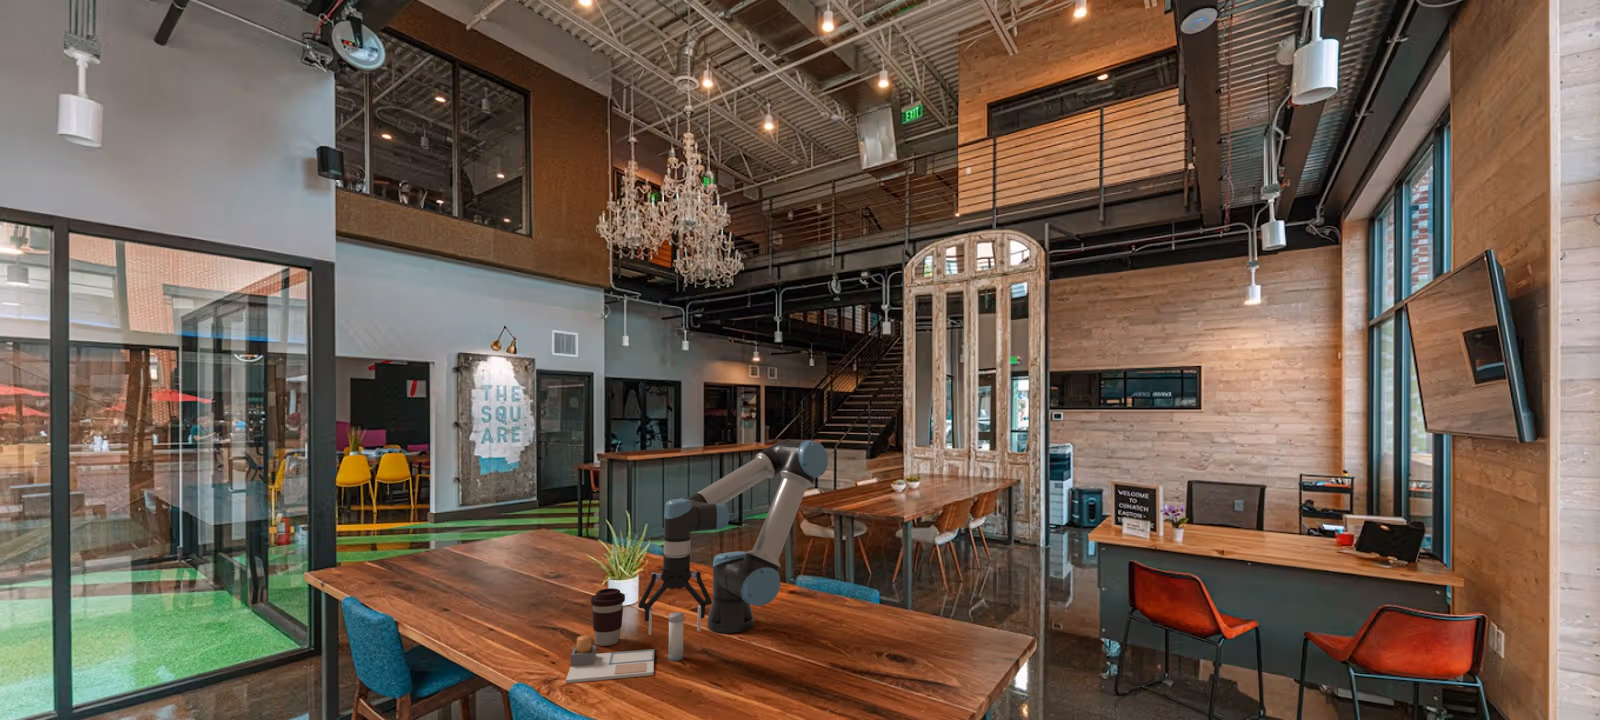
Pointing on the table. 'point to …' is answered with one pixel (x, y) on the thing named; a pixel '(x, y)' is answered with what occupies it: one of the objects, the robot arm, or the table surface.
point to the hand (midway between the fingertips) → (674, 631)
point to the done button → (584, 644)
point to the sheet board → (609, 665)
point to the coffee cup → (607, 616)
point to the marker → (676, 636)
